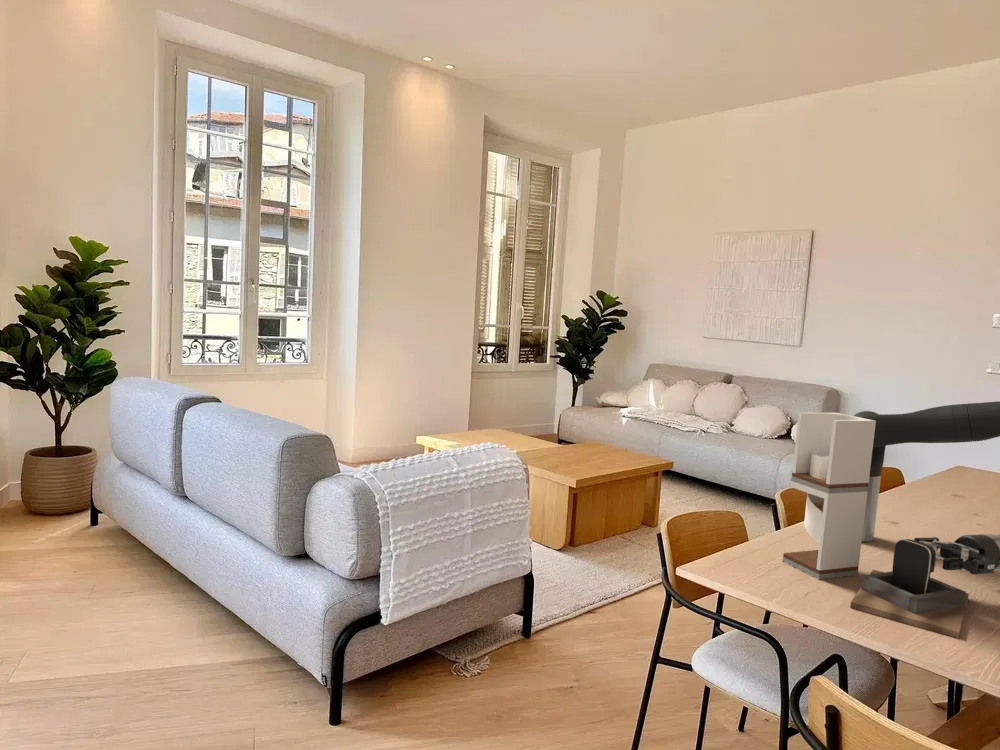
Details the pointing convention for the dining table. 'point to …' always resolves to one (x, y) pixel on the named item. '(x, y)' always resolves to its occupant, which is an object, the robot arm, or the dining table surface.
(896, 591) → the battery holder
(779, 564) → the dining table surface
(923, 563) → the battery charger
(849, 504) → the white shelf stand
